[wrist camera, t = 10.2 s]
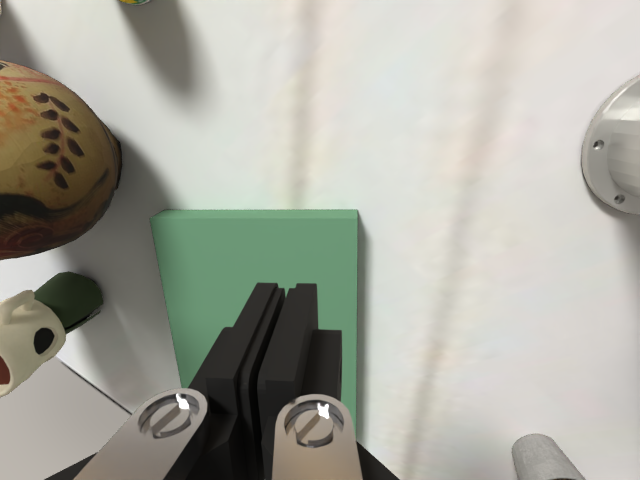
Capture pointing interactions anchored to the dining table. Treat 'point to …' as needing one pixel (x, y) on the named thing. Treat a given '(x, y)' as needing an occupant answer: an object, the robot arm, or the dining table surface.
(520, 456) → the house plant
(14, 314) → the character mug
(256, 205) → the dining table surface
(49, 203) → the ceramic jug
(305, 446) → the robot arm
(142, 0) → the supplement bottle
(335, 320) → the board
